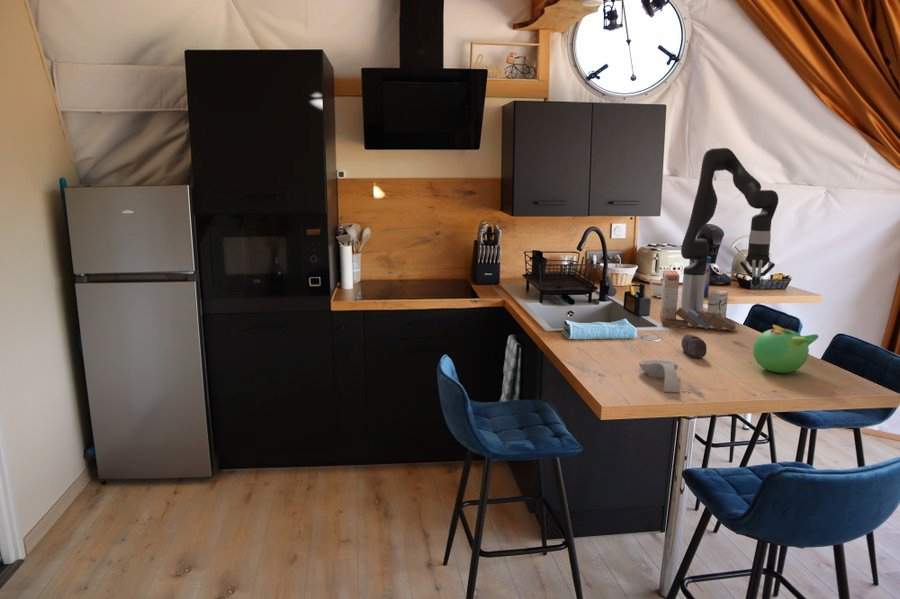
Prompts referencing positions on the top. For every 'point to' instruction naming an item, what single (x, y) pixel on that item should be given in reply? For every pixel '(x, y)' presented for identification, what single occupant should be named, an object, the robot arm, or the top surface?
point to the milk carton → (707, 275)
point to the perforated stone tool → (694, 346)
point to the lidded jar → (656, 287)
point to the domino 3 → (697, 318)
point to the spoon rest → (662, 373)
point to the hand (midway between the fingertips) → (755, 286)
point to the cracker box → (669, 295)
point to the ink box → (717, 302)
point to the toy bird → (782, 349)
